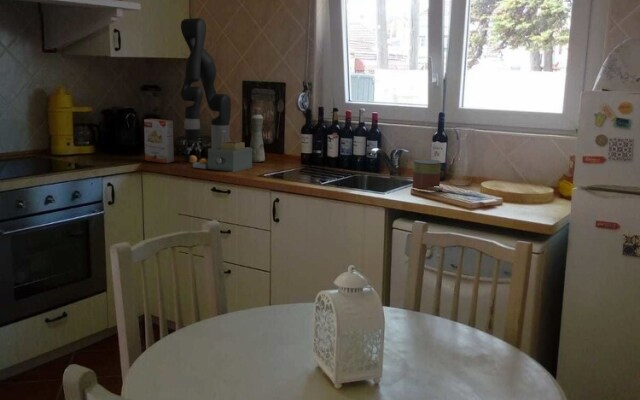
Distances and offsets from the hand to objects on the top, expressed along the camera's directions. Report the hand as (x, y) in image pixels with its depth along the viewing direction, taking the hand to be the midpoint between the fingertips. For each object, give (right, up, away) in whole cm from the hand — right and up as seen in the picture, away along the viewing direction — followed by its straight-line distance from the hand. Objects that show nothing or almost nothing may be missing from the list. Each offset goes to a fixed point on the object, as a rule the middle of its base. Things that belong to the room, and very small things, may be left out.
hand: (192, 160), depth 328 cm
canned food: (+107, -16, -52) cm, 120 cm away
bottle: (+30, 0, +12) cm, 33 cm away
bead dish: (+8, -4, -13) cm, 16 cm away
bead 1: (0, -1, 0) cm, 2 cm away
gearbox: (+21, -5, -14) cm, 25 cm away
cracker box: (-17, -1, +3) cm, 18 cm away
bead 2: (+8, -4, -13) cm, 16 cm away
